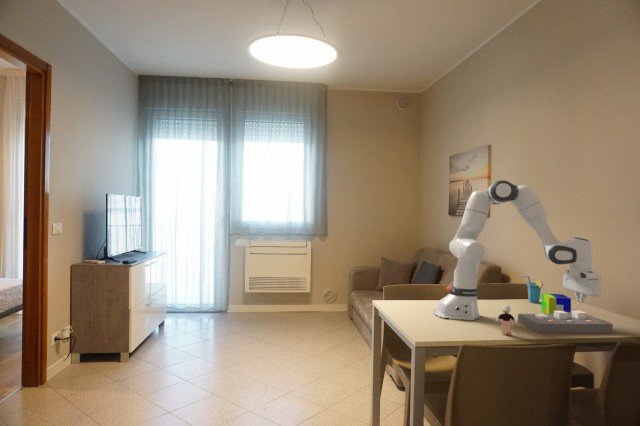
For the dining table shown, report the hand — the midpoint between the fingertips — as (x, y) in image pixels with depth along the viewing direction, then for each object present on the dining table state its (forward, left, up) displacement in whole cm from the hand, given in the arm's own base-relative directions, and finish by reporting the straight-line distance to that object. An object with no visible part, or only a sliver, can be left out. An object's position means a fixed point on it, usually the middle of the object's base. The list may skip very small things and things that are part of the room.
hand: (580, 301), depth 183 cm
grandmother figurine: (-42, -12, -12) cm, 46 cm away
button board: (-9, -2, -11) cm, 15 cm away
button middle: (-9, 0, -8) cm, 12 cm away
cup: (+5, +46, -12) cm, 47 cm away
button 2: (0, 0, -8) cm, 8 cm away
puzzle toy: (+1, +18, -12) cm, 21 cm away
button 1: (-18, 0, -9) cm, 21 cm away
